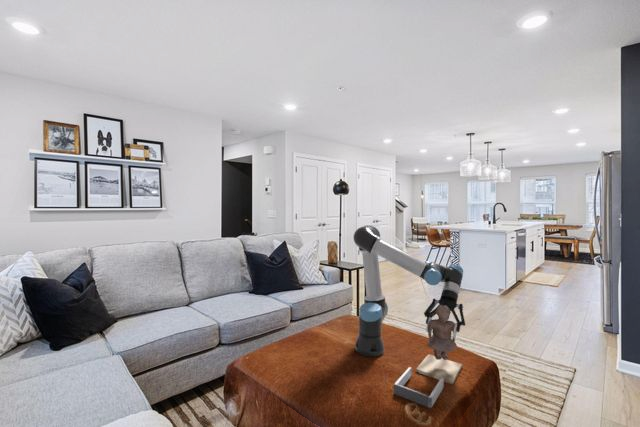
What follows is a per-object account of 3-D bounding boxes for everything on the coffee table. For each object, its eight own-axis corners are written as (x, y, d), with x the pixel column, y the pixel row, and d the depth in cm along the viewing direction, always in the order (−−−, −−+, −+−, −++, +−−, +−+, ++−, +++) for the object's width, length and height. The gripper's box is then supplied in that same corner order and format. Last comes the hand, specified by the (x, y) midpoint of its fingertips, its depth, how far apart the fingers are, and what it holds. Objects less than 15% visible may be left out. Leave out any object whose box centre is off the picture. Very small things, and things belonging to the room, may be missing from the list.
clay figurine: (429, 362, 145) (430, 308, 144) (424, 352, 155) (425, 301, 154) (459, 364, 144) (460, 309, 143) (451, 353, 154) (452, 302, 152)
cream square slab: (416, 372, 147) (416, 368, 147) (428, 356, 161) (428, 354, 161) (452, 384, 137) (452, 381, 137) (462, 367, 152) (462, 364, 152)
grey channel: (393, 393, 130) (394, 384, 130) (408, 375, 144) (409, 366, 144) (431, 408, 121) (431, 398, 121) (443, 387, 135) (443, 378, 135)
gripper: (477, 302, 153) (469, 345, 142) (427, 292, 167) (416, 331, 155) (475, 293, 149) (466, 337, 137) (424, 284, 163) (413, 323, 151)
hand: (440, 334), depth 146 cm, fingers closed on clay figurine, 11 cm apart
